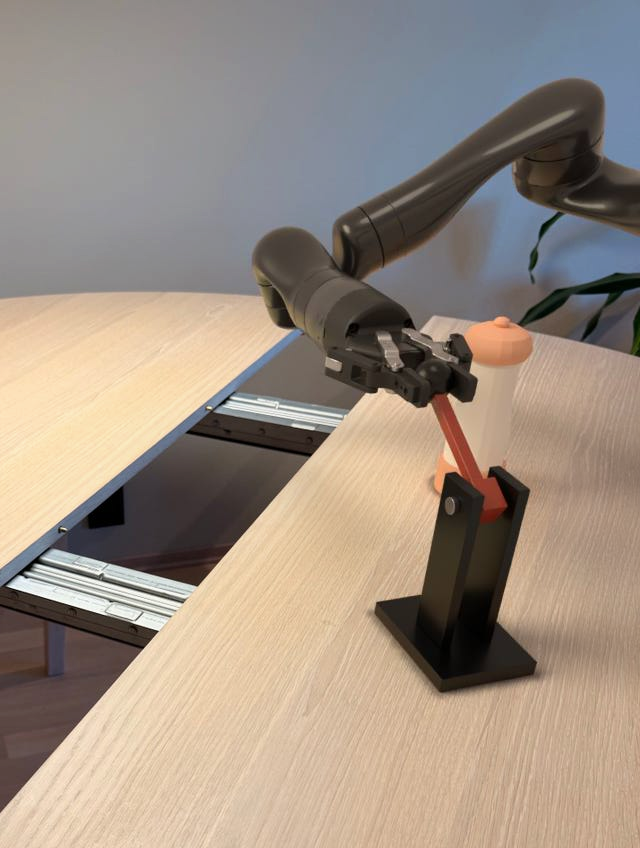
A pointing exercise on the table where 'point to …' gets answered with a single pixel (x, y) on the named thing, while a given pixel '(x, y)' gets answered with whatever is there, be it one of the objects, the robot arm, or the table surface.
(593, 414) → the table surface
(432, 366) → the lever
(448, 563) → the bracket
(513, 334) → the salt shaker
